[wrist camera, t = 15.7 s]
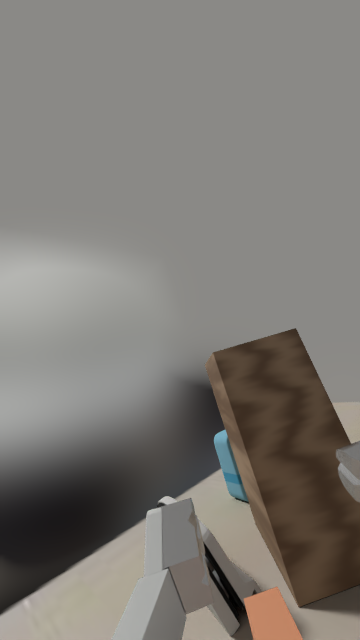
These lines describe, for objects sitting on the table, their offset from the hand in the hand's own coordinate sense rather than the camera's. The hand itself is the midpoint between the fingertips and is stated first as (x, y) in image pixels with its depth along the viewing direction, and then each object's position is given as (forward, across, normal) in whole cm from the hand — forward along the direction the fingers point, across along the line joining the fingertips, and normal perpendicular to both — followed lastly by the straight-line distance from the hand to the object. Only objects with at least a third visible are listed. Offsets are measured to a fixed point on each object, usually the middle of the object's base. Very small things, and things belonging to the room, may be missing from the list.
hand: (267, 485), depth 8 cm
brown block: (+14, +9, -30) cm, 34 cm away
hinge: (+15, -7, -30) cm, 34 cm away
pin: (-4, 0, -17) cm, 18 cm away
